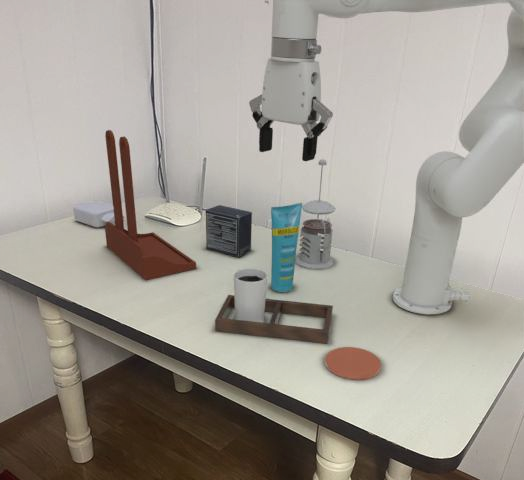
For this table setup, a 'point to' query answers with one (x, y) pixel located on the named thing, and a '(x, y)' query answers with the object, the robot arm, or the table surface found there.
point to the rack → (273, 327)
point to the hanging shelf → (129, 242)
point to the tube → (284, 245)
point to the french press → (316, 234)
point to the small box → (228, 230)
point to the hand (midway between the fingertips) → (286, 155)
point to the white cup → (250, 294)
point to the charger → (94, 213)
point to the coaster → (353, 363)
